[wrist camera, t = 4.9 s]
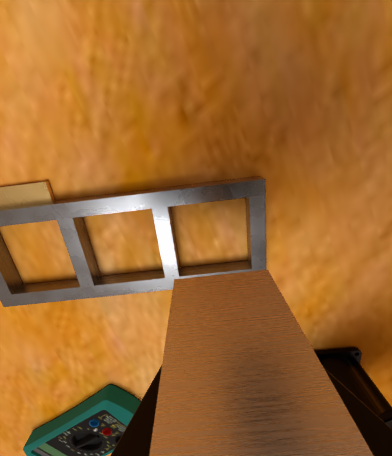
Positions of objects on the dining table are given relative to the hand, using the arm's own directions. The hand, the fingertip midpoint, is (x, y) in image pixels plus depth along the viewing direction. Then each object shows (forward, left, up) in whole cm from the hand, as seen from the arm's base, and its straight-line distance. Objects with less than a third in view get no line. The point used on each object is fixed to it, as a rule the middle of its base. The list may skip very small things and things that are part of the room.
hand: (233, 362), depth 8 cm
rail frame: (+7, 0, -12) cm, 15 cm away
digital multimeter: (+17, +24, -13) cm, 32 cm away
